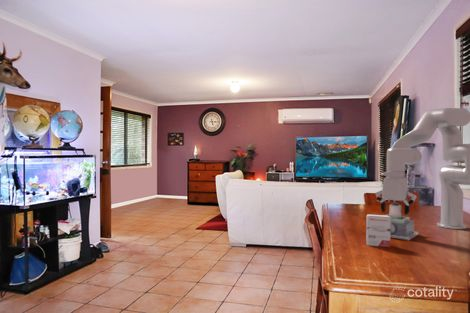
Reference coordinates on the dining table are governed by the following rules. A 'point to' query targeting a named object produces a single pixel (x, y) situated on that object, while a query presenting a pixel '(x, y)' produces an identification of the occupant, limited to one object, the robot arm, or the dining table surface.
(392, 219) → the motor
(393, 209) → the white cylinder
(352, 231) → the dining table surface
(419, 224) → the dining table surface
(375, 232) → the ink box
